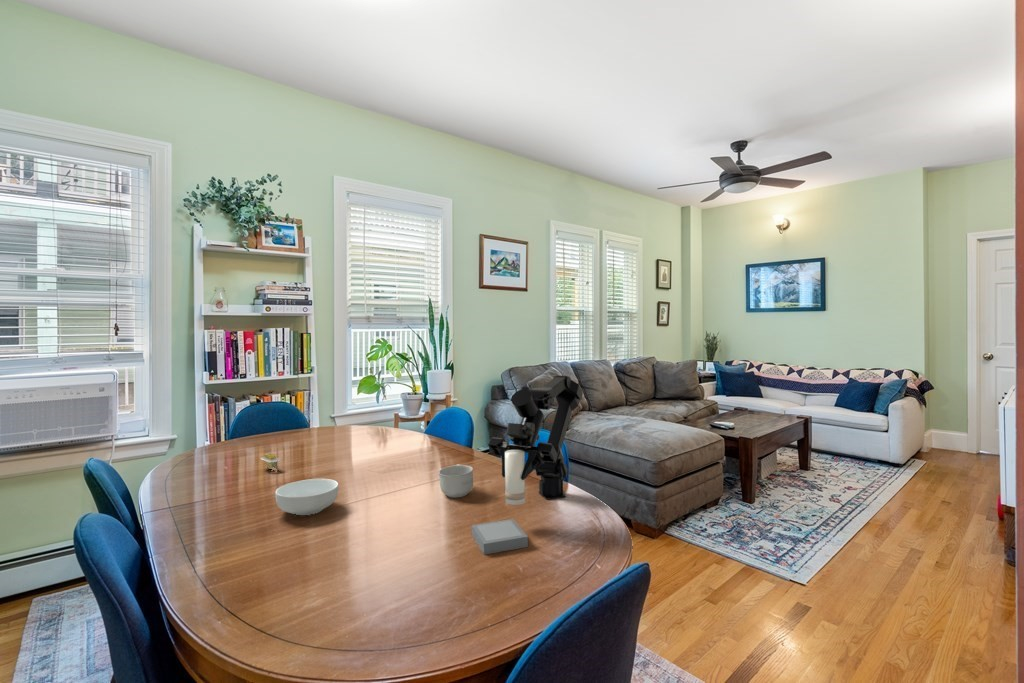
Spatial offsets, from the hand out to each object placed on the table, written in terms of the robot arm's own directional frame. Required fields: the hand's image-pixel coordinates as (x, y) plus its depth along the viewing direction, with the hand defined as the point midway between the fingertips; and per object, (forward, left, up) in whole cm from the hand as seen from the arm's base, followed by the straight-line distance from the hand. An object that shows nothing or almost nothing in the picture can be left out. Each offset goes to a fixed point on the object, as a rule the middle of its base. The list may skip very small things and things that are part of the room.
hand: (512, 477), depth 122 cm
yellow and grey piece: (+68, -80, -14) cm, 106 cm away
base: (+6, +6, -13) cm, 15 cm away
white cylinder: (-1, -1, -7) cm, 7 cm away
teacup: (+8, -31, -14) cm, 35 cm away
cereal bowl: (+52, -32, -14) cm, 62 cm away
